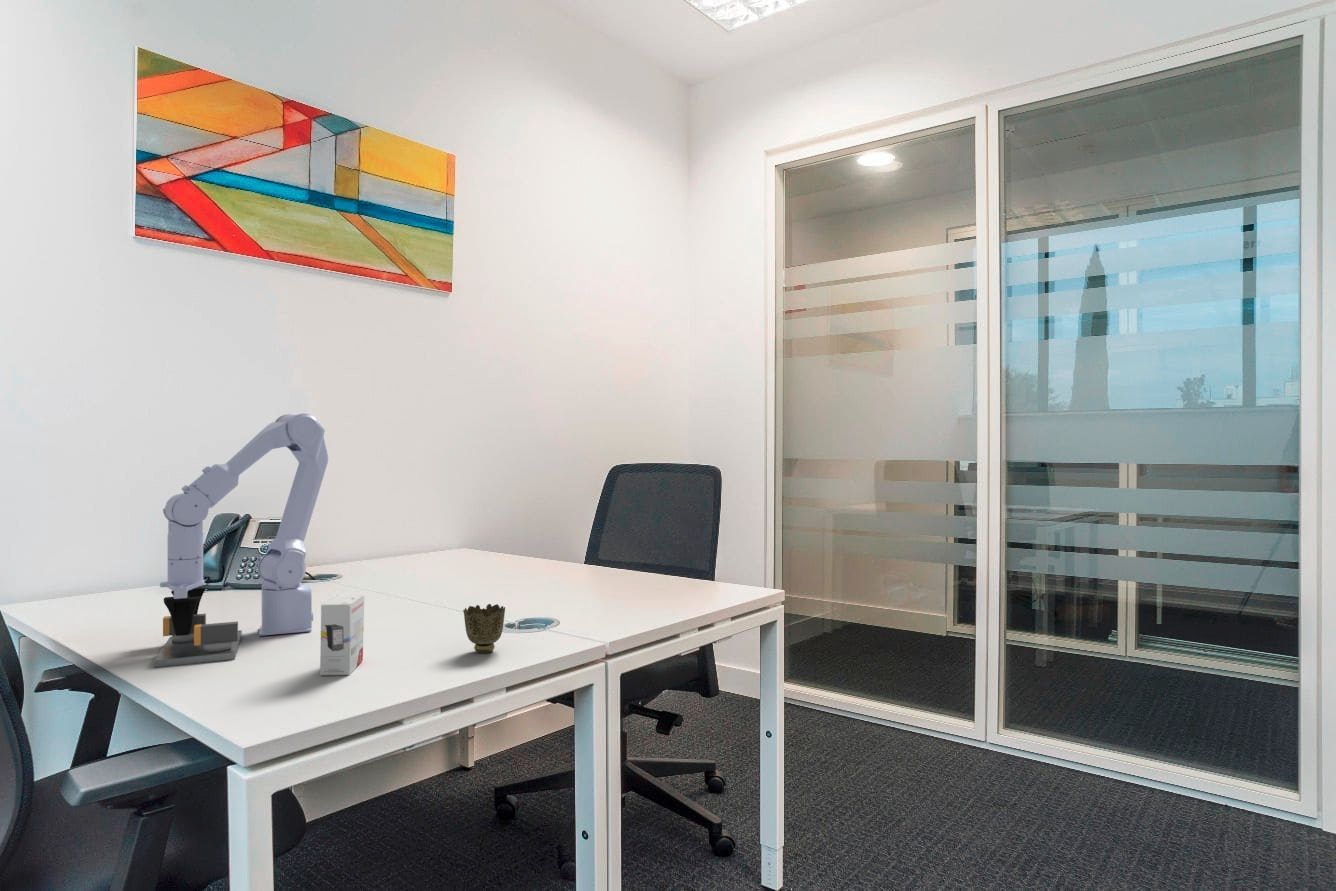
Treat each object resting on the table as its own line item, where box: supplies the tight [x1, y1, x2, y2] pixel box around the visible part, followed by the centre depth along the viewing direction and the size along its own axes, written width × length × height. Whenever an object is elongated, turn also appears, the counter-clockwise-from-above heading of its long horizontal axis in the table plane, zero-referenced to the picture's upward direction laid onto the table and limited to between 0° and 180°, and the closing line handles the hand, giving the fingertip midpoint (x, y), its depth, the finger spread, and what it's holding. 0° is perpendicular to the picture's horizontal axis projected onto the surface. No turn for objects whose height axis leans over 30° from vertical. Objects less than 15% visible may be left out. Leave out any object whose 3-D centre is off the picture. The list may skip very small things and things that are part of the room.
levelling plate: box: [153, 629, 243, 668], centre depth 145 cm, size 12×18×3 cm, turn 25°
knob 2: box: [194, 621, 239, 652], centre depth 141 cm, size 7×4×4 cm, turn 115°
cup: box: [462, 603, 506, 654], centre depth 144 cm, size 8×7×8 cm
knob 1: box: [162, 613, 207, 642], centre depth 148 cm, size 7×4×4 cm, turn 115°
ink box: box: [319, 594, 365, 676], centre depth 133 cm, size 9×5×12 cm, turn 6°
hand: (185, 630), depth 148 cm, fingers open, 7 cm apart
